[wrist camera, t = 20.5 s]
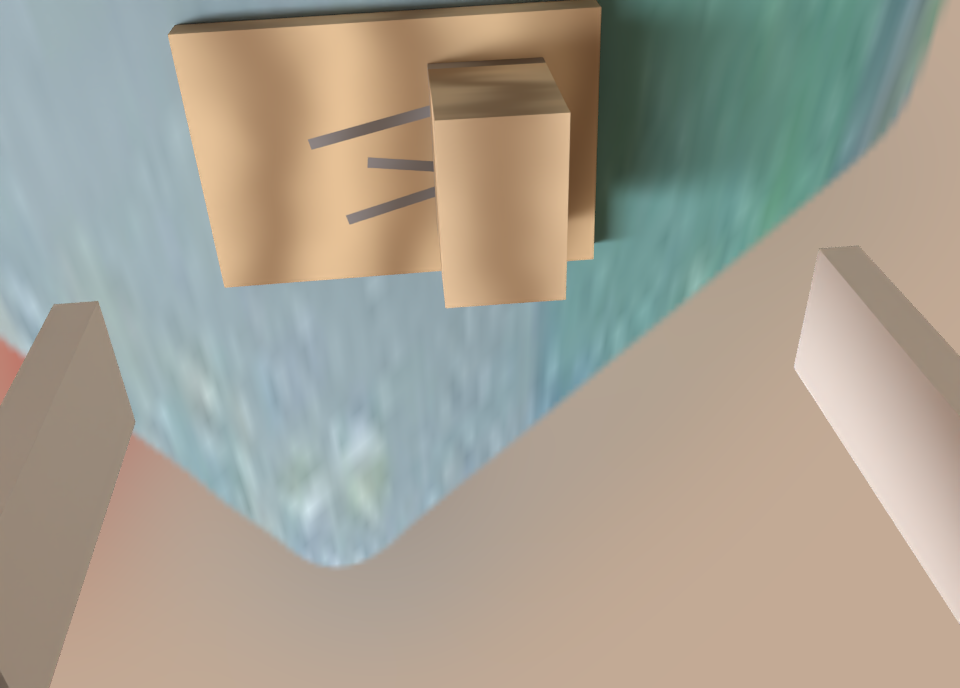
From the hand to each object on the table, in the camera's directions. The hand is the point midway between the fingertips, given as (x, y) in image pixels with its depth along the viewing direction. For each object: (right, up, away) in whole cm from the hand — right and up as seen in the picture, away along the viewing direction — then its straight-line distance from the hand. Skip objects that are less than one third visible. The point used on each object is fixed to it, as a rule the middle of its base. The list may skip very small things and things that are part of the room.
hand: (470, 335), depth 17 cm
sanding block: (+1, +9, +25) cm, 26 cm away
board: (-4, +9, +26) cm, 27 cm away
